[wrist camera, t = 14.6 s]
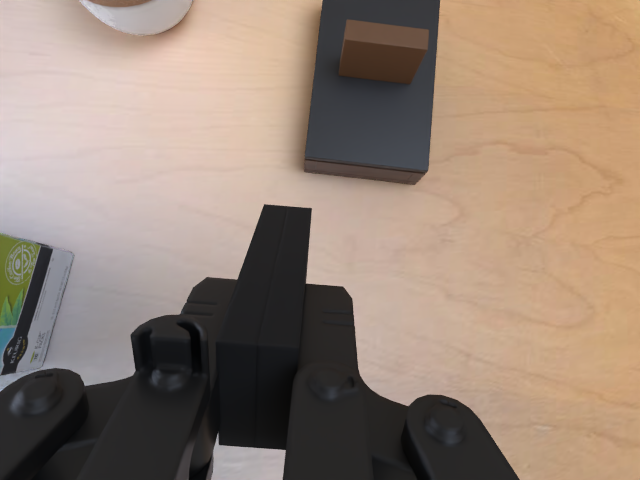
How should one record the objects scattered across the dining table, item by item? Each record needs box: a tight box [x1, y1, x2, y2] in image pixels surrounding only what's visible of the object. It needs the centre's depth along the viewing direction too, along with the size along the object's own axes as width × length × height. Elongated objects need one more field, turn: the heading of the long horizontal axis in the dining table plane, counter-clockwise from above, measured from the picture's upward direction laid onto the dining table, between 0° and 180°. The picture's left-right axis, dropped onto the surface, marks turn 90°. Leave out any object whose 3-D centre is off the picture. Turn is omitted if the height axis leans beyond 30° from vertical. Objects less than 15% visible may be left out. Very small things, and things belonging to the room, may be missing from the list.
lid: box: [305, 0, 440, 173], centre depth 34 cm, size 16×10×6 cm, turn 174°
